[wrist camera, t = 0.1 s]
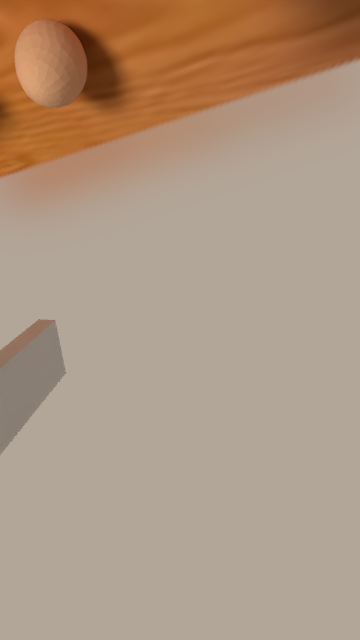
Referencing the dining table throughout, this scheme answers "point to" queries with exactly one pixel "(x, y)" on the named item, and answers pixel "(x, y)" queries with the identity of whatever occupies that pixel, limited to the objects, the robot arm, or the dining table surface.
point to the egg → (50, 63)
